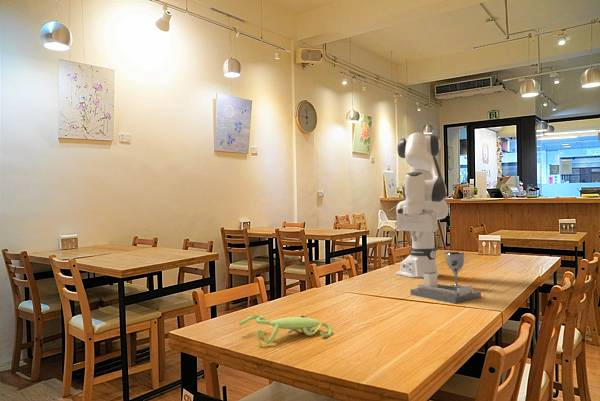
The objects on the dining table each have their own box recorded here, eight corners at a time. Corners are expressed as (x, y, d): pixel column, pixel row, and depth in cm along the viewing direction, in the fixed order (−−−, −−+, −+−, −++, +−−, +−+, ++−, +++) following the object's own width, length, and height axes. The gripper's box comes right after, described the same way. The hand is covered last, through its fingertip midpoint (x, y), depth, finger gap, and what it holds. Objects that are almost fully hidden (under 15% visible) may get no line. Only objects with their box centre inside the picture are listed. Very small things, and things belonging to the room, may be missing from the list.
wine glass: (468, 288, 194) (467, 253, 194) (450, 288, 194) (448, 254, 194) (462, 284, 202) (460, 251, 202) (444, 285, 202) (443, 252, 202)
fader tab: (424, 288, 187) (423, 271, 187) (431, 286, 190) (431, 270, 190) (429, 289, 184) (429, 272, 184) (437, 287, 187) (437, 271, 187)
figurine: (237, 332, 143) (237, 315, 143) (315, 322, 152) (315, 305, 152) (249, 350, 126) (249, 330, 126) (337, 337, 134) (336, 318, 134)
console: (410, 294, 186) (410, 282, 186) (435, 288, 195) (435, 277, 195) (455, 303, 168) (454, 290, 168) (481, 296, 177) (480, 284, 177)
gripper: (440, 209, 186) (441, 242, 186) (403, 209, 202) (404, 239, 203) (430, 210, 182) (431, 243, 182) (393, 210, 199) (394, 241, 199)
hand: (417, 241), depth 192 cm, fingers closed
